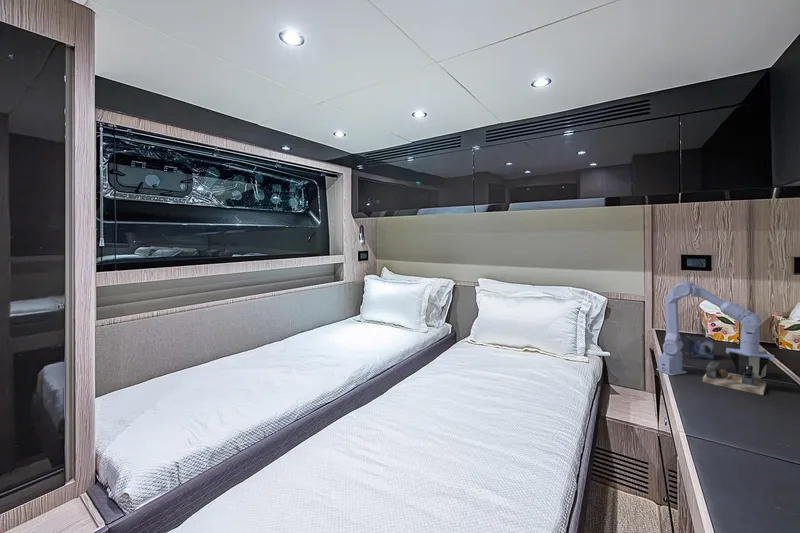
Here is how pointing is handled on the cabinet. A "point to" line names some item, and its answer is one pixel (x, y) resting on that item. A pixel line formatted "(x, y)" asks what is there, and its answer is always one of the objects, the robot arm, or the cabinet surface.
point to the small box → (700, 347)
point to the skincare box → (757, 364)
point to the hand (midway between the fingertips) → (748, 372)
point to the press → (731, 379)
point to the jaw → (748, 375)
